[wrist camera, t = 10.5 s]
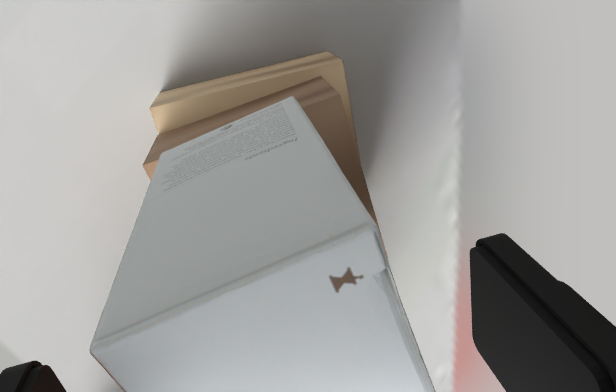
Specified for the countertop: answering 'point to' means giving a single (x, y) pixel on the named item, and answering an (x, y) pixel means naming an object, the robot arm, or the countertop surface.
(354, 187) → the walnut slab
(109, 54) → the countertop surface
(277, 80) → the oak slab
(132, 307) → the small box
